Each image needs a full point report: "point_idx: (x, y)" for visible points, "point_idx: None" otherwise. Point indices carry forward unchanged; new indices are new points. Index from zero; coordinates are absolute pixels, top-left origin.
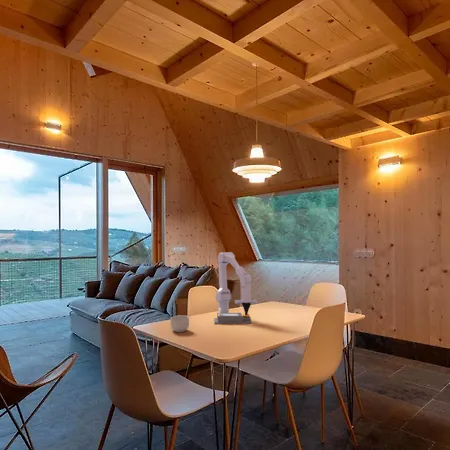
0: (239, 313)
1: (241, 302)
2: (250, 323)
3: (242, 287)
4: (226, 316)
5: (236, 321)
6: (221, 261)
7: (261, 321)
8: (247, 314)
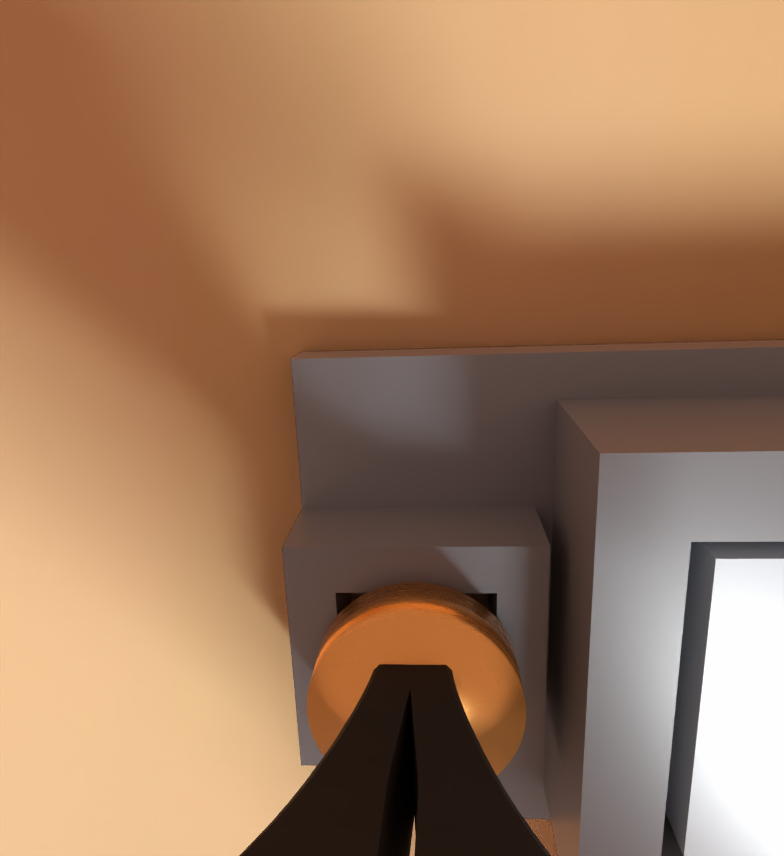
0: (640, 837)
1: None
2: (324, 351)
3: None
4: None
5: (747, 399)
6: None
7: (37, 582)
8: None
